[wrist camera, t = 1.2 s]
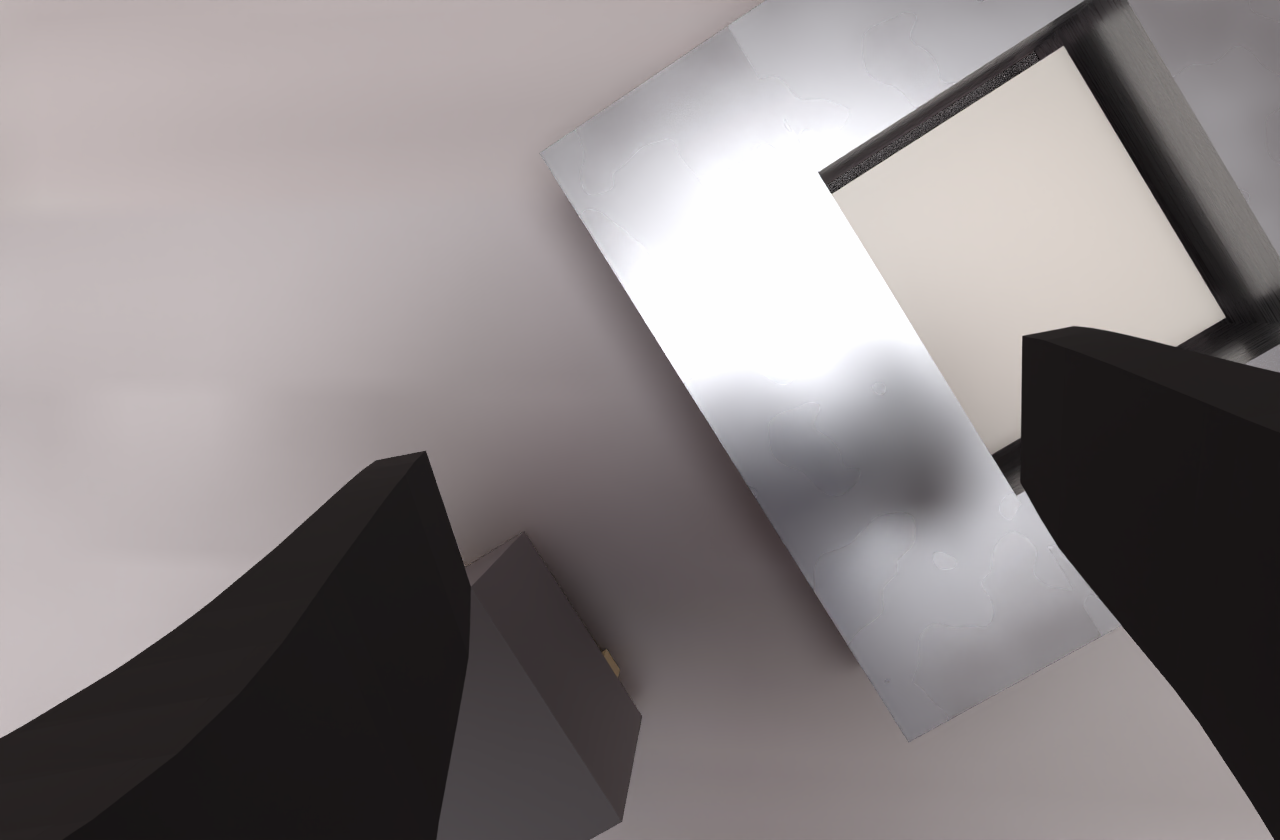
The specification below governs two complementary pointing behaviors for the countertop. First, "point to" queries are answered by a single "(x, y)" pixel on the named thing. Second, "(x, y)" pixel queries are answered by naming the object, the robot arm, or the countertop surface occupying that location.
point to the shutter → (1022, 238)
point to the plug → (535, 714)
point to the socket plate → (870, 315)
